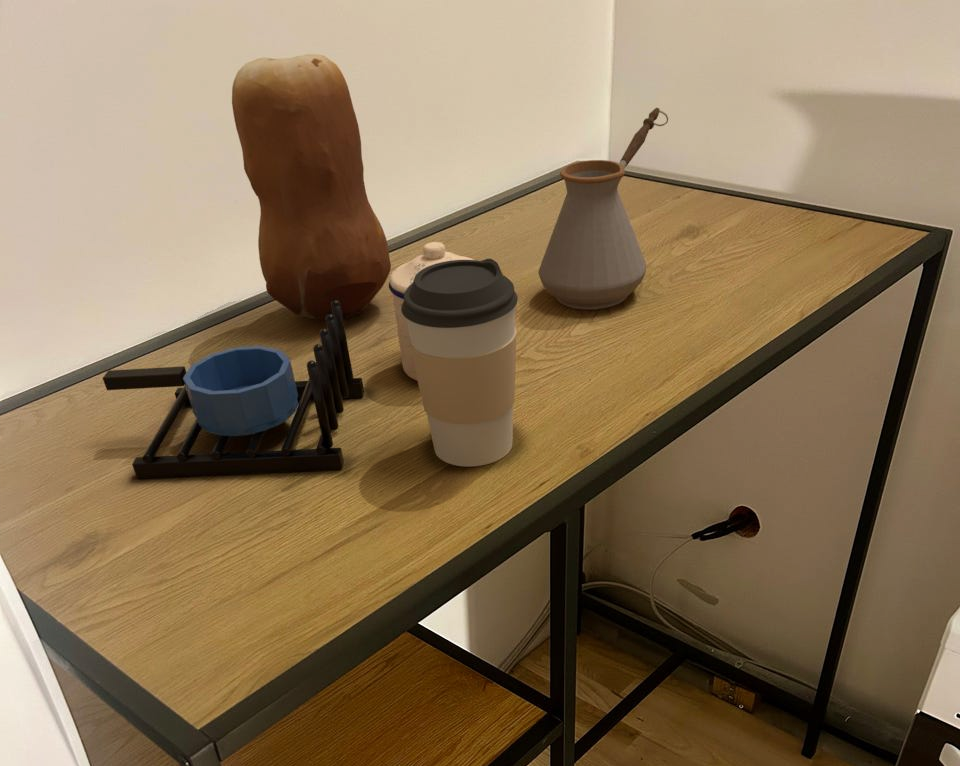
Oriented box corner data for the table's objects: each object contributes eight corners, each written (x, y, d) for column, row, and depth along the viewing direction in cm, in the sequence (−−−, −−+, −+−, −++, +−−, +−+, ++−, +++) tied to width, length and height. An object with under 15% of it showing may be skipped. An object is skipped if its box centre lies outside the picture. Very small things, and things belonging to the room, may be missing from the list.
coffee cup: (442, 484, 78) (419, 304, 68) (406, 435, 84) (381, 264, 74) (543, 455, 80) (535, 276, 70) (500, 410, 86) (488, 240, 76)
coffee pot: (615, 324, 98) (617, 167, 88) (519, 307, 103) (511, 157, 93) (700, 253, 110) (710, 109, 101) (611, 241, 116) (613, 102, 106)
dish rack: (137, 479, 82) (99, 378, 76) (182, 401, 93) (152, 307, 86) (342, 469, 81) (321, 365, 74) (364, 391, 91) (347, 295, 85)
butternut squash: (344, 281, 113) (301, 35, 96) (420, 306, 105) (388, 44, 89) (248, 321, 106) (184, 64, 89) (323, 351, 98) (268, 76, 82)
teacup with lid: (407, 393, 90) (389, 269, 82) (395, 353, 97) (378, 235, 89) (530, 373, 91) (525, 249, 83) (510, 335, 98) (503, 217, 90)
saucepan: (103, 442, 83) (86, 398, 80) (136, 393, 89) (121, 351, 87) (287, 433, 81) (276, 388, 79) (306, 384, 88) (297, 341, 85)
